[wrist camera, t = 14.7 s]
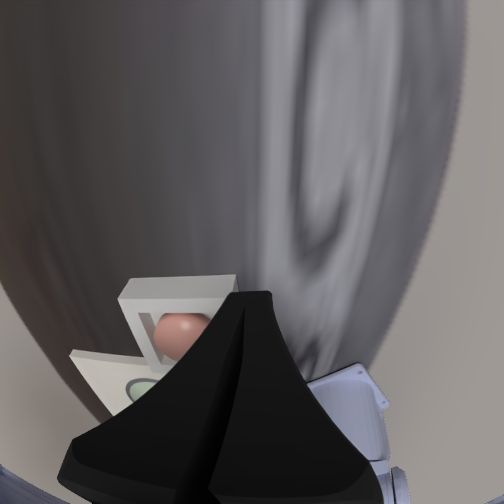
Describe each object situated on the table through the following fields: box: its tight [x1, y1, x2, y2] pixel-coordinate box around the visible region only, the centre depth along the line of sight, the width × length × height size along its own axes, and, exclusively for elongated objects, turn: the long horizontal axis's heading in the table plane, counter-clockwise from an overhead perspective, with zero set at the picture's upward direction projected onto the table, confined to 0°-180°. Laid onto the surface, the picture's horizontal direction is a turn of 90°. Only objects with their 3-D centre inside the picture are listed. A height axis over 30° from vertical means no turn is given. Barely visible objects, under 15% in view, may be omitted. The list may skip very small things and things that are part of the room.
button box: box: [118, 274, 239, 374], centre depth 22 cm, size 8×8×2 cm
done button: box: [153, 313, 210, 362], centre depth 21 cm, size 5×5×1 cm
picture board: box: [70, 349, 166, 416], centre depth 31 cm, size 20×16×1 cm
